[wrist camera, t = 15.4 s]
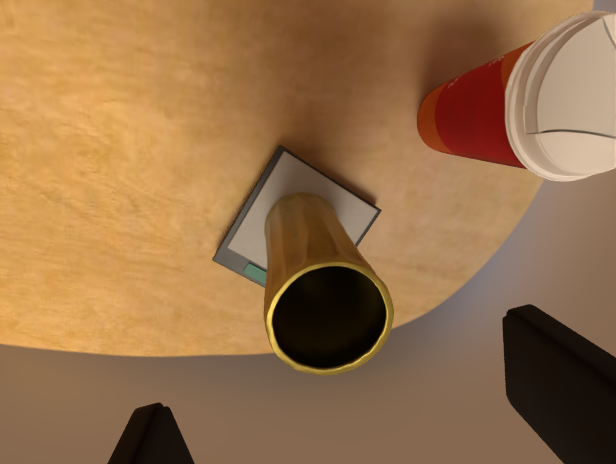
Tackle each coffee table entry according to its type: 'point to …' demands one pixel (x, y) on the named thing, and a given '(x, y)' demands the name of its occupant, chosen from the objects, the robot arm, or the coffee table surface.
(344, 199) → the scale
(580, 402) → the robot arm
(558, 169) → the paper cup
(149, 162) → the coffee table surface
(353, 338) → the vase
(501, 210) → the coffee table surface
